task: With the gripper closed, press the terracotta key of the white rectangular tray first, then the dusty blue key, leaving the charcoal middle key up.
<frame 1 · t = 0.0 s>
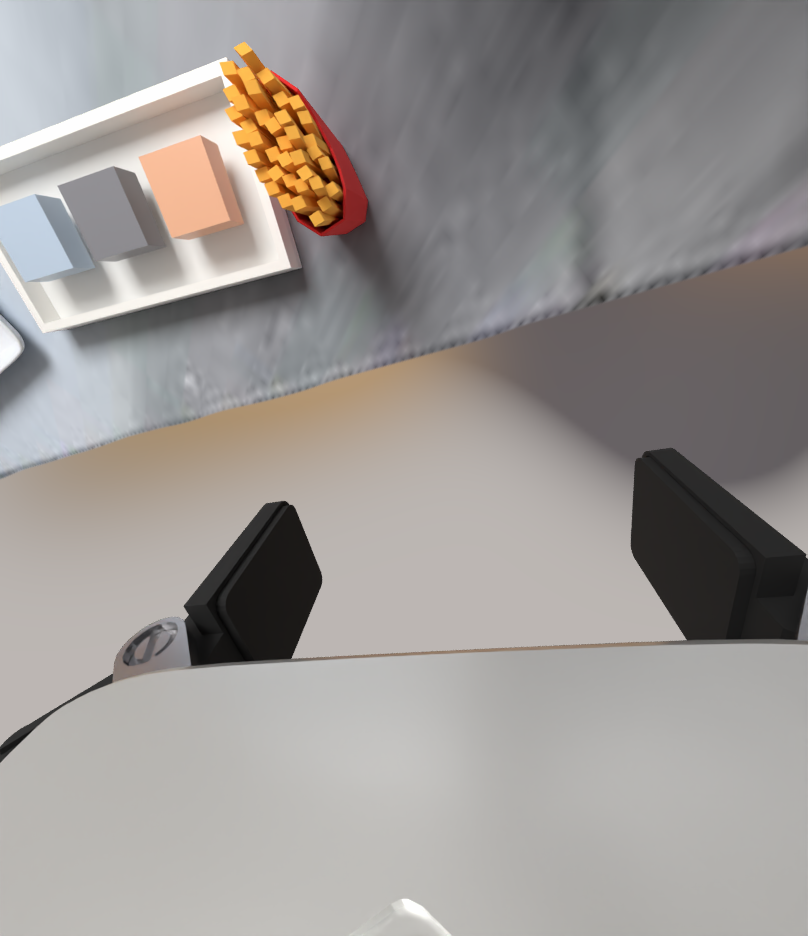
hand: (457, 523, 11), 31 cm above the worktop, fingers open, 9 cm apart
french fries: (335, 185, 33), on the worktop
terracotta key: (194, 192, 32), point 3 cm above the worktop, slide at 0.0 cm
dusty blue key: (42, 241, 35), point 3 cm above the worktop, slide at 0.0 cm
white rectangular tray: (143, 222, 36), on the worktop
charcoal key: (114, 217, 33), point 4 cm above the worktop, slide at 0.0 cm
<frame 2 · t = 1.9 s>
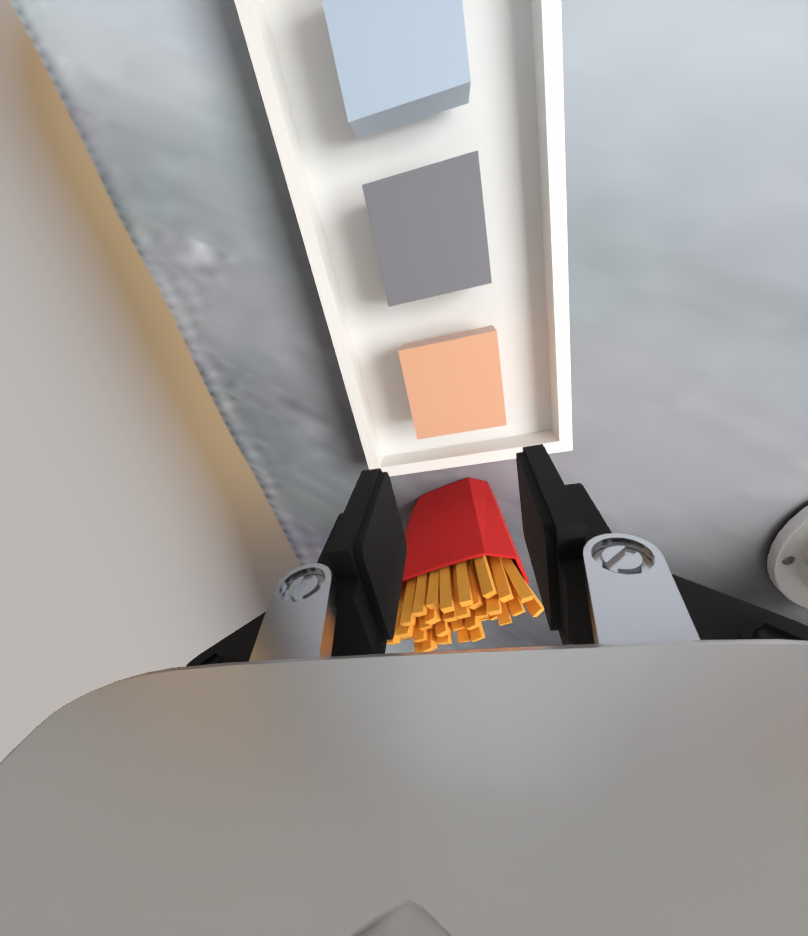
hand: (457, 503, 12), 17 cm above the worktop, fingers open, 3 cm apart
french fries: (456, 503, 32), on the worktop
terracotta key: (453, 383, 24), point 3 cm above the worktop, slide at 0.0 cm
dusty blue key: (397, 31, 17), point 4 cm above the worktop, slide at 0.0 cm
white rectangular tray: (432, 241, 23), on the worktop
charcoal key: (430, 237, 20), point 4 cm above the worktop, slide at 0.0 cm
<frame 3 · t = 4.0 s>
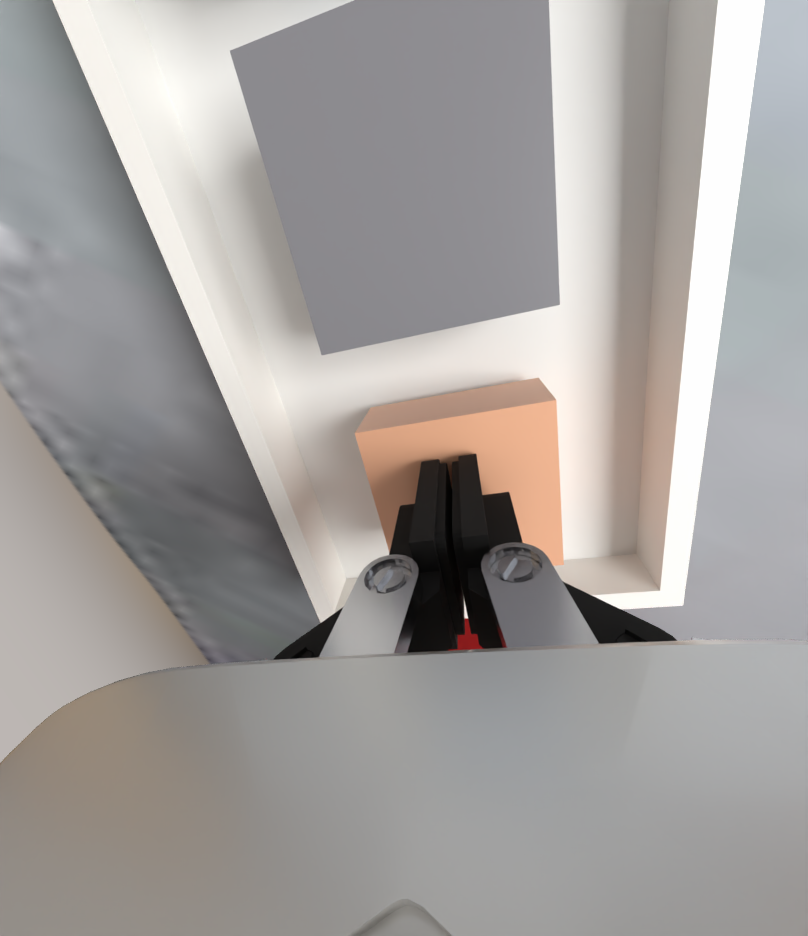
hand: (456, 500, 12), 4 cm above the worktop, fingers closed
french fries: (464, 637, 20), on the worktop
terracotta key: (463, 483, 13), point 3 cm above the worktop, slide at 0.8 cm, touching gripper
white rectangular tray: (424, 217, 12), on the worktop
charcoal key: (413, 198, 9), point 3 cm above the worktop, slide at 0.0 cm
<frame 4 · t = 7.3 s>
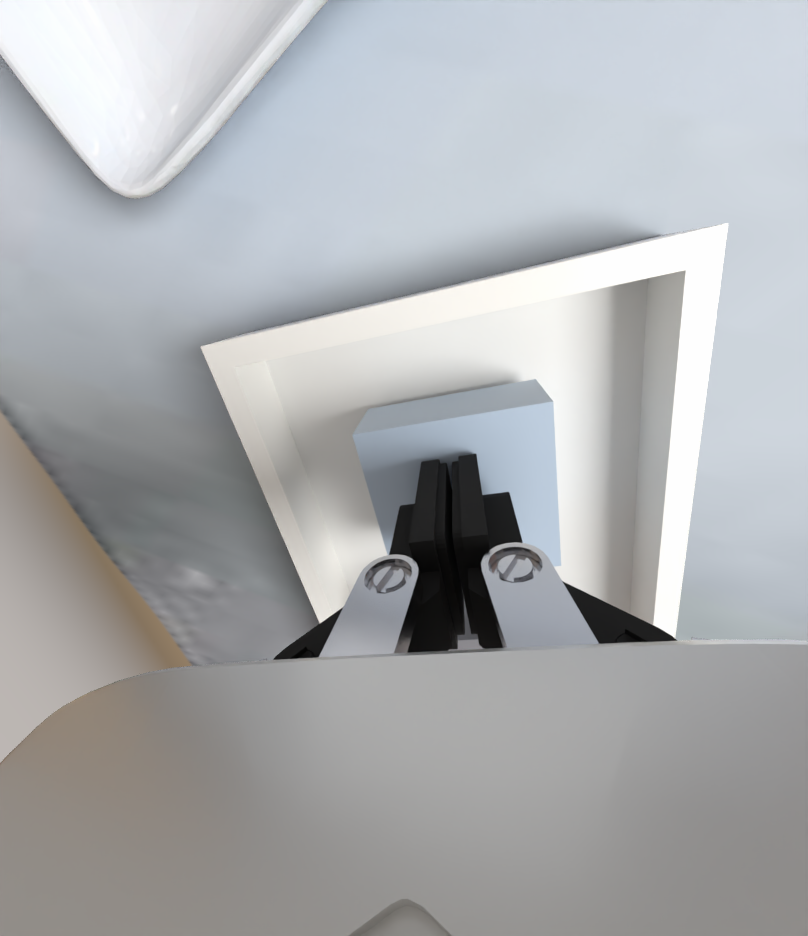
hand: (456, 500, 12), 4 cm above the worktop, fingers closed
dusty blue key: (461, 484, 13), point 3 cm above the worktop, slide at 0.7 cm, touching gripper
white rectangular tray: (484, 597, 19), on the worktop
charcoal key: (490, 661, 16), point 3 cm above the worktop, slide at 0.0 cm
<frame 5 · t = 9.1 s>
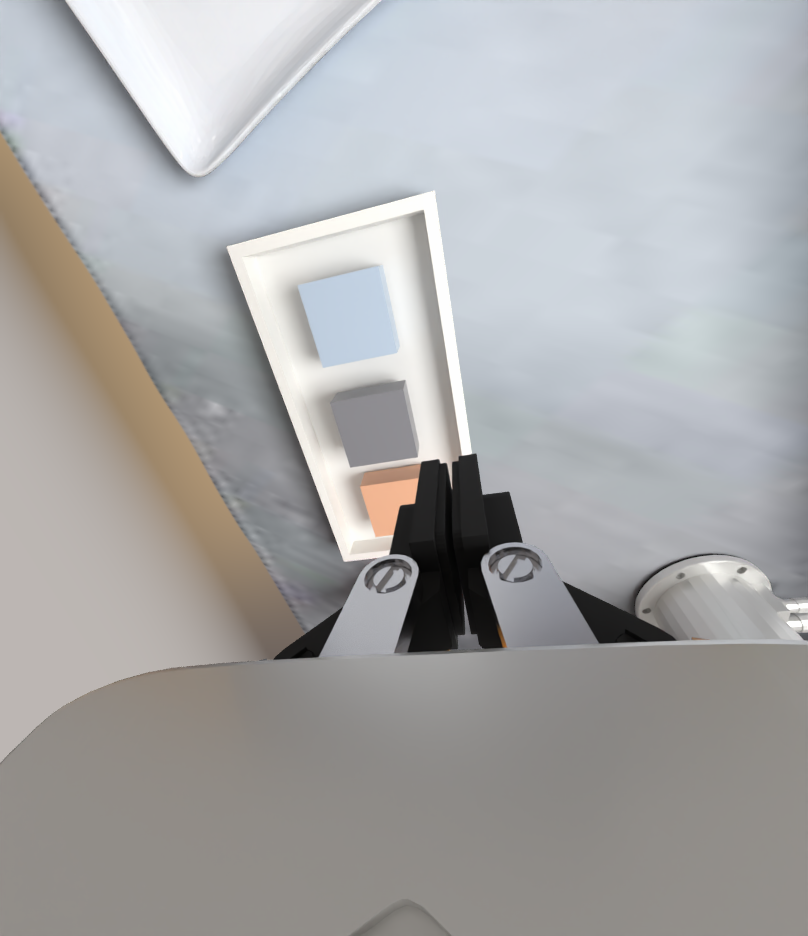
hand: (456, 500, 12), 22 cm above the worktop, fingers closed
terracotta key: (399, 501, 35), point 3 cm above the worktop, slide at 0.9 cm
dusty blue key: (352, 317, 27), point 3 cm above the worktop, slide at 0.9 cm
white rectangular tray: (382, 409, 33), on the worktop
charcoal key: (377, 424, 30), point 3 cm above the worktop, slide at 0.0 cm
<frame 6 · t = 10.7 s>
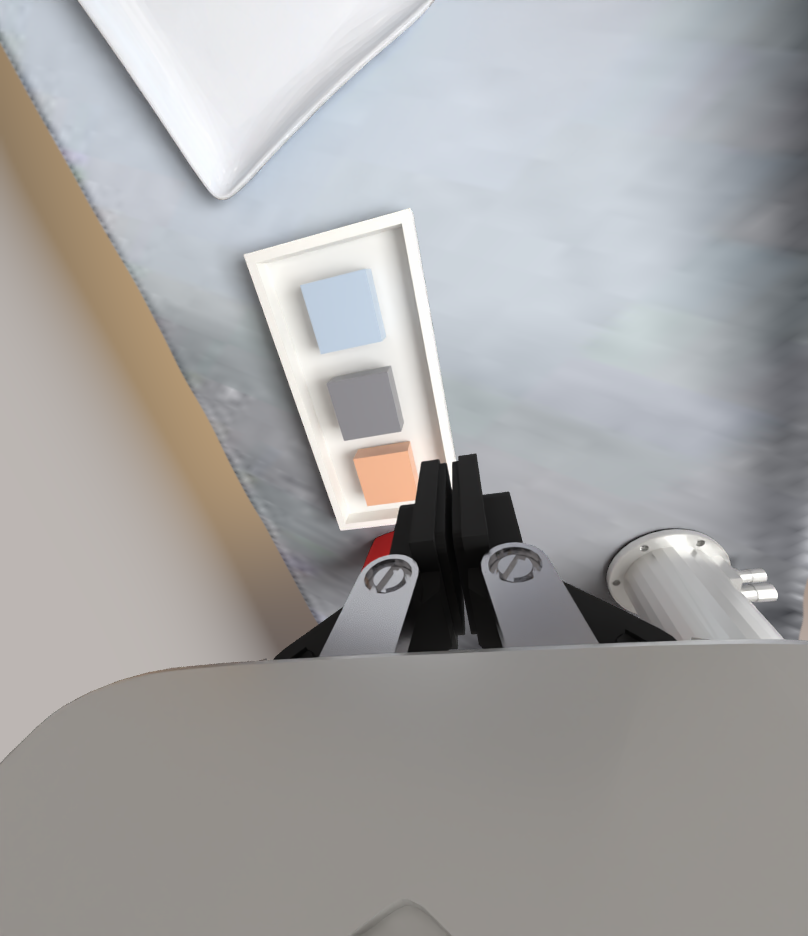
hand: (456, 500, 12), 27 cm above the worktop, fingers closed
french fries: (400, 542, 47), on the worktop
terracotta key: (388, 474, 40), point 3 cm above the worktop, slide at 0.9 cm
dusty blue key: (345, 312, 33), point 3 cm above the worktop, slide at 0.9 cm
white rectangular tray: (373, 393, 39), on the worktop
charcoal key: (367, 403, 35), point 3 cm above the worktop, slide at 0.0 cm
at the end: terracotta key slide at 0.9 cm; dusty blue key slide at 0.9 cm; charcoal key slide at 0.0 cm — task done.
